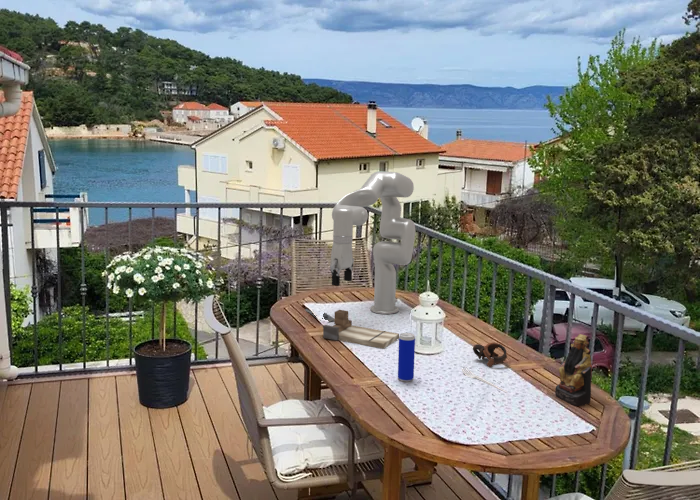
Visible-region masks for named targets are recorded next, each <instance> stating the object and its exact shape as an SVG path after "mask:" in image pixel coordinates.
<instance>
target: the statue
mask: <svg viewBox="0 0 700 500" xmlns="http://www.w3.org/2000/svg"><path fill="white" fill-rule="evenodd" d="M589 339H590V338H589V336H588V335H585V334H581V333H578V335H577V336H575V337H574V341H573V343H571V344H570V347H571V348H570V350H569V353H568V355H567V357H566V358H565V360H564V361H562V362H561V363H560V367H559V368H558V373H559V377H560V378H559V381H560V382H559V384H557V385H556V386H555V392H554V393H555V397H557V398H559V399H560V400H562V401H564V402H565V403H568V404H570V405H572V406H575V407H581V406H586V405H585V404H588V405H590V404H589V403H591V400H592V375H593V373H592V372H593V365H592V358H591V350H590V349H589V346H590V342H589Z"/></svg>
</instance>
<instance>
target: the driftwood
mask: <svg viewBox="0 0 700 500" xmlns="http://www.w3.org/2000/svg"><path fill="white" fill-rule="evenodd" d="M304 310H305V312H307V313H309V314H310V315H312V316H313V317H314V318H316V317H315V316H314V314H315V313H313V314H312V312H313V311H312V310H310V309H308V308H305V309H304ZM311 311H312V312H311ZM323 317H324V319H325V320H328V321H329V322H328V323H330V322H332V321H333V322H334V316H333V317H332V316H331V315H329V314H328V313H326V312H324V314H323ZM322 319H323V318H322Z"/></svg>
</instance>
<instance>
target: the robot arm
mask: <svg viewBox="0 0 700 500" xmlns="http://www.w3.org/2000/svg"><path fill="white" fill-rule="evenodd" d="M414 190H415V187H414V182H413V180H412V179H411V178H410V177H408V176H406V175H405V174H403V173H400V172H395V171H375V172H373V173H371V174H370V176H369V177H368V178H367V180H366V181H365V182H364V183H363V185H362V186H361V188H359V189H356V190H354V191H352V192H350V193H348V194H346V195H344V196H342V197H341V198H340V199H338V201H337V203H335V205H334V207H333V208H332V212H331V218H332V220H333V222H332V223H333V226H332V227H333V233H332V246H331V252H330V253H331V254H330V264H329V269H330V275H331V285H332V286H335V287H336V286H337V287H339V286H340V283H341V281H340V280H341V279H340V278H341V275H340V273H341V271H342V270H344V271H343V274H344V275H343V276H344V278H343V280H344V281H346V282H352V281H353V267H354V262H355V258H353V257H354V256H353V255H354V254H353V240H354V239H353V233H354V231H353V229H354V226H359V227H360V226H362V225H365V223H366V222H367V221H368V218H369V213H368V211H367V209H366V208H365V207H369V206H372V205H375V204H376V203H377V201H378V200H379V198H380V201H381V216H380V224H379V235H380V236H381V237H382V238H385V239H391V240H399V241H400V240H401V242H397V241H396V242H395V241H388V240H386V241H385V240H383V241H382V240H381V241H378V242H376V243H375V244H374V246H373V249H372V254H373V261H374V290H373V293H374V295H373V296H374V299H373V301H374V302H373V305H372V306H370V311H371V312H372V313H375V314H380V315H390V314H396V313H398V312H399V307H398V306H396V303H398V299H397V298H396V293H397V292H396V289H397V270H396V269H395V266H394V265H401V266H406V265H409V264H410V263H411V261H412V258H413V252H414V244H415V239H416V238H415V237H416V225H415V222H414V221H413V220H412V219H409V218H405V217H404V218H403V217H402V218H401V215H402V205H401V203H400V201H399V199H398V198H409V197H411V196H412V194H413V192H414Z"/></svg>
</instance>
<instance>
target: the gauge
mask: <svg viewBox="0 0 700 500" xmlns="http://www.w3.org/2000/svg"><path fill="white" fill-rule="evenodd" d="M333 318H334V321H333V322H334V325H328V324H324V325H323V327H322V331H323V332H322V338H323V339H329V340H332V341H339V340H338V339H339V332H340V331H342V330H344V329H346V328H348V327H350V326H351V325H353V322H352V320H351V319H350V318H349V311H348V310H343V309H338V310H336V311H334V316H333Z"/></svg>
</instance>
